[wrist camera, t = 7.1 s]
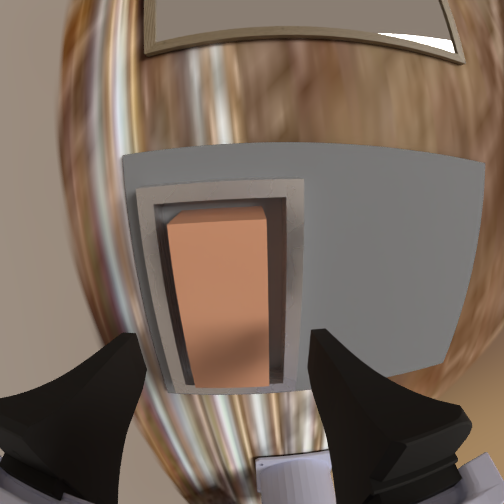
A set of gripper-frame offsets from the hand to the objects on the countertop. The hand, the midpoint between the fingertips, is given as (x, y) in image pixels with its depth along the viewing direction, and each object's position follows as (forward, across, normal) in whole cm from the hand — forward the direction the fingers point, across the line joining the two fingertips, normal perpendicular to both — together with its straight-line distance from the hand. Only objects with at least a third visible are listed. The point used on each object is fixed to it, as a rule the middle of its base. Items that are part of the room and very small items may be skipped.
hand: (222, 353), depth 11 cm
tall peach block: (+5, 0, 0) cm, 5 cm away
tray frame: (+5, 0, 0) cm, 5 cm away
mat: (+5, -6, 0) cm, 8 cm away
